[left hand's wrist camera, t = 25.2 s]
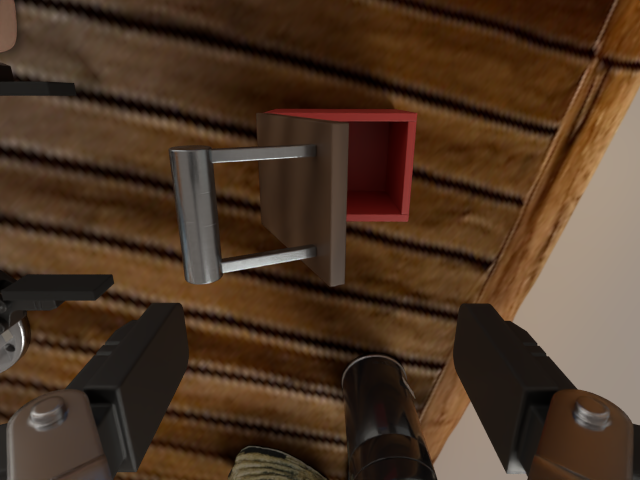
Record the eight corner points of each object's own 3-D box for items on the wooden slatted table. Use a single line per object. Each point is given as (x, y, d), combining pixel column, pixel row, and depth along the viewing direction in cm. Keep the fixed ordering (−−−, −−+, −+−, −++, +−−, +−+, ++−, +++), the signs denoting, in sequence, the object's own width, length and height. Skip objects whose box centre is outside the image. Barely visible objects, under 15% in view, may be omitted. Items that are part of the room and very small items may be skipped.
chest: (395, 109, 45) (417, 112, 35) (389, 195, 48) (408, 221, 38) (275, 108, 45) (262, 112, 35) (278, 195, 48) (267, 221, 38)
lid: (349, 122, 22) (169, 127, 18) (345, 284, 25) (193, 317, 22) (268, 112, 34) (151, 114, 31) (272, 222, 38) (167, 236, 34)
